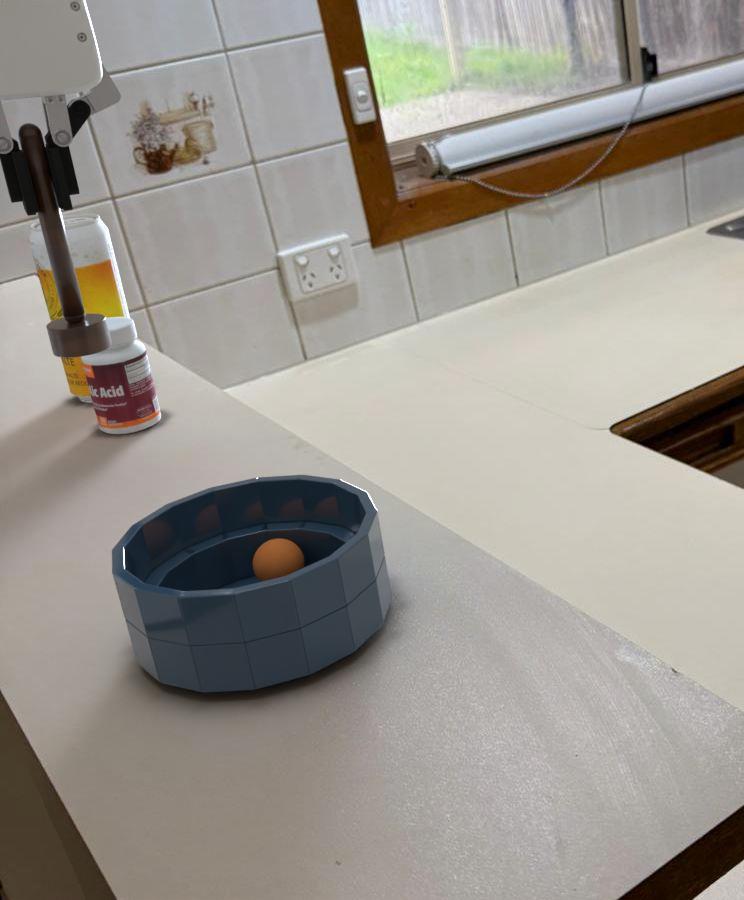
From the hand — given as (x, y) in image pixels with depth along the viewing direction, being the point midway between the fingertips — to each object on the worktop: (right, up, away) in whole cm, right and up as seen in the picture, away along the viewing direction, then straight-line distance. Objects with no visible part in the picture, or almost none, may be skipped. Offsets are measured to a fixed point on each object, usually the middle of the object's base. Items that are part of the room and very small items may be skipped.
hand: (48, 208), depth 75 cm
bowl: (+19, -26, -14) cm, 34 cm away
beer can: (-6, -11, +24) cm, 27 cm away
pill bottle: (-1, -14, +16) cm, 22 cm away
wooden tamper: (+1, -9, +4) cm, 10 cm away
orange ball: (+18, -22, -11) cm, 31 cm away
